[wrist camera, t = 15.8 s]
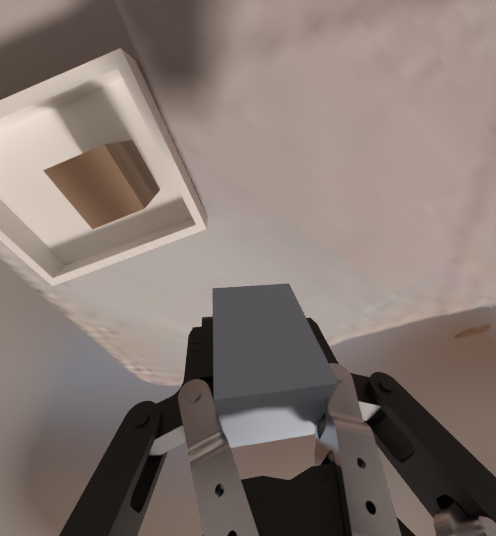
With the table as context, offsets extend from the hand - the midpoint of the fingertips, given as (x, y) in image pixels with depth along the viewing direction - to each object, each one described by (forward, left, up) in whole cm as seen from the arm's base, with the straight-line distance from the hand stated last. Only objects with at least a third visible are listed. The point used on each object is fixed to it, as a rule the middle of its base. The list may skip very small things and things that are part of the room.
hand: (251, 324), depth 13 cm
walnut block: (-9, -7, -14) cm, 18 cm away
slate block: (0, 0, -1) cm, 1 cm away
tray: (-9, -11, -15) cm, 21 cm away
